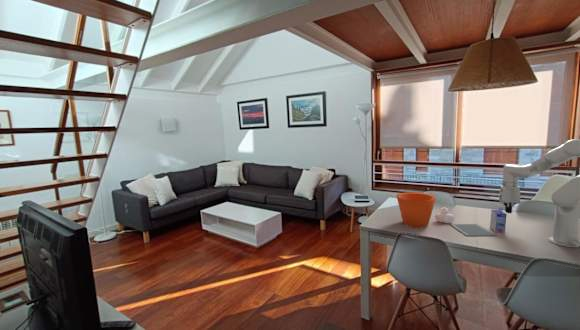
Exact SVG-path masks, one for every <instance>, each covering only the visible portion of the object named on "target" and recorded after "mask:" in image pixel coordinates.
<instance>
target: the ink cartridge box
mask: <svg viewBox="0 0 580 330" xmlns="http://www.w3.org/2000/svg"><path fill="white" fill-rule="evenodd" d="M503 210H504V208H502V207H500V208H499V209H491V211H490V213H491V214H490V222H489V227H490V229H491V230H492V231H494V233H503V234H505V233H506V226H507V225H506V223H507V214H508V213H506V212H504V211H503Z"/></svg>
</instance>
